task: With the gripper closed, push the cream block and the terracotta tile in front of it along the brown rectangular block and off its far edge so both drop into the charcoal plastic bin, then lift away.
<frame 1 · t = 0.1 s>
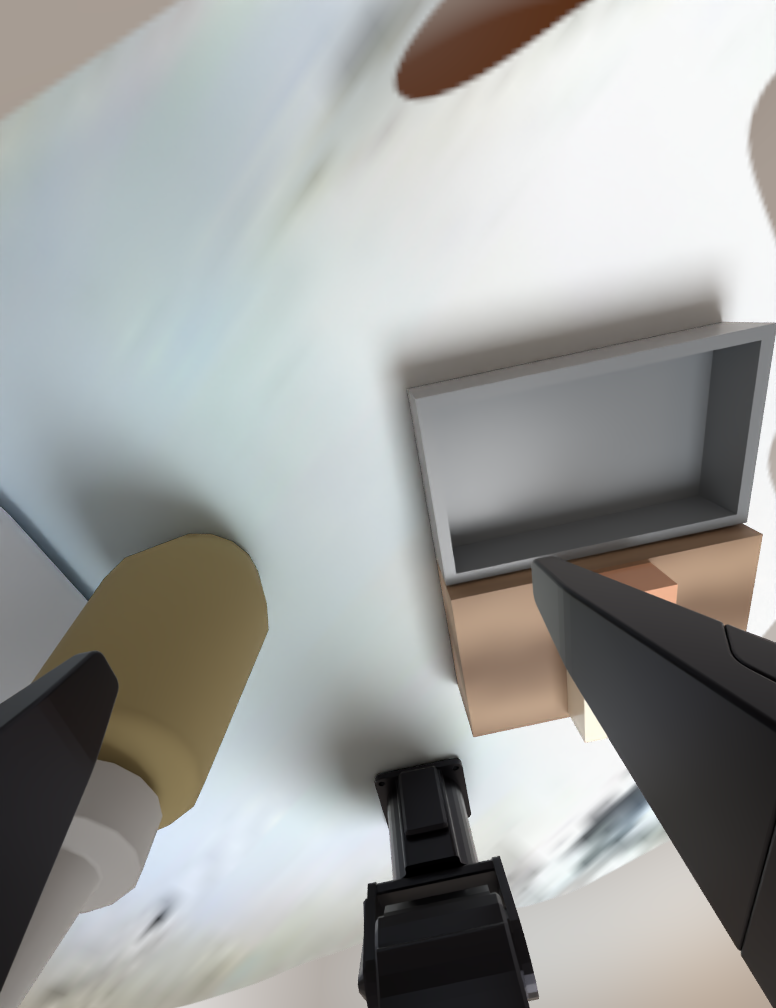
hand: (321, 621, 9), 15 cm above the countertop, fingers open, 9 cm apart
cream block: (605, 676, 25), point 4 cm above the countertop, touching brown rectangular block
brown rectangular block: (572, 600, 28), on the countertop
terracotta tile: (606, 607, 23), point 4 cm above the countertop, touching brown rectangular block
squeeze bottle: (208, 575, 25), on the countertop
charcoal bin: (567, 449, 24), on the countertop
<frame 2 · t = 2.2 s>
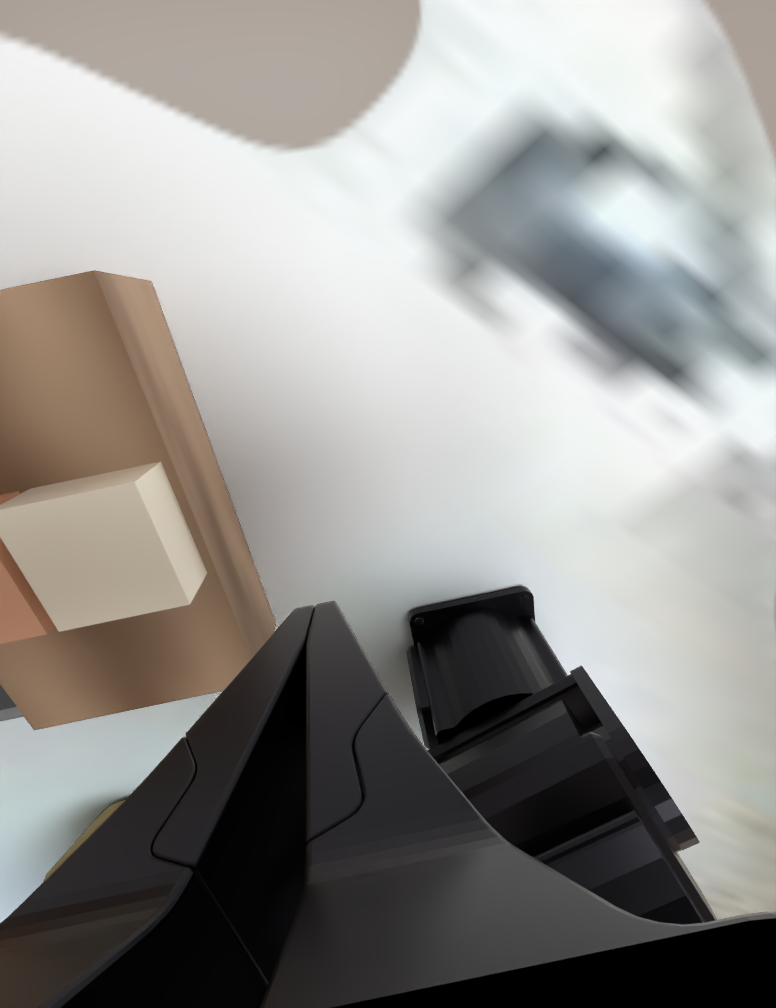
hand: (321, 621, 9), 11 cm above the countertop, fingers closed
cream block: (123, 533, 16), point 4 cm above the countertop, touching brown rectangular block
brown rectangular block: (112, 503, 19), on the countertop
squeeze bottle: (150, 820, 28), on the countertop
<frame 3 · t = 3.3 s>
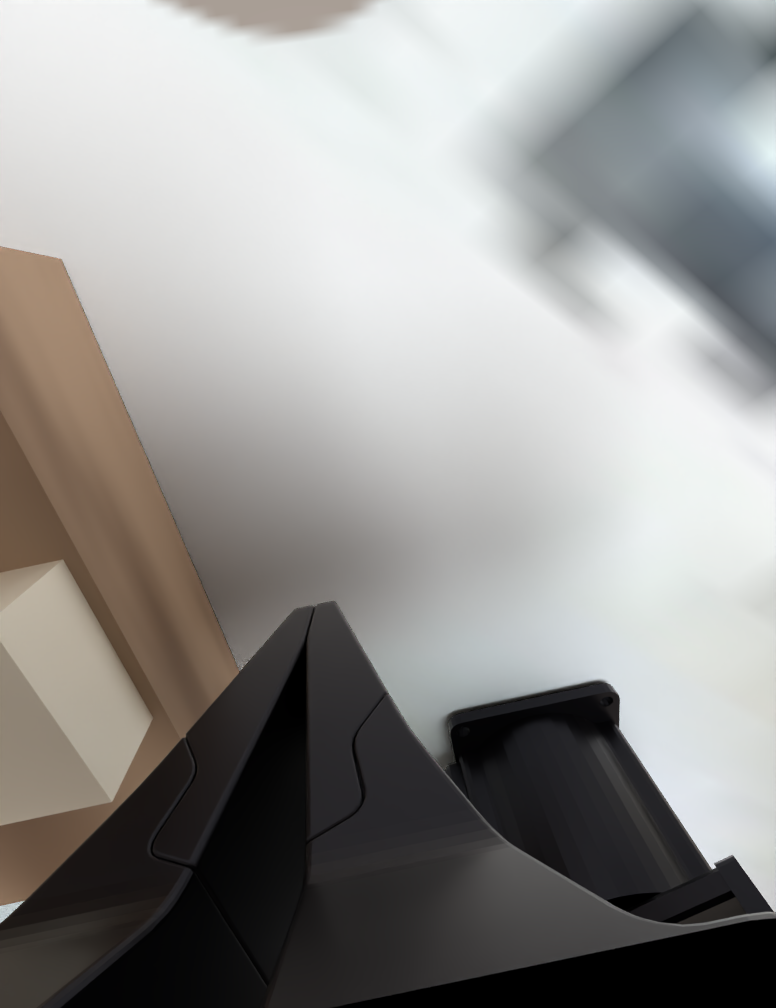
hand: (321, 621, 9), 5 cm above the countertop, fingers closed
cream block: (12, 667, 10), point 4 cm above the countertop, touching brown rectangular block
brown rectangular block: (27, 587, 13), on the countertop
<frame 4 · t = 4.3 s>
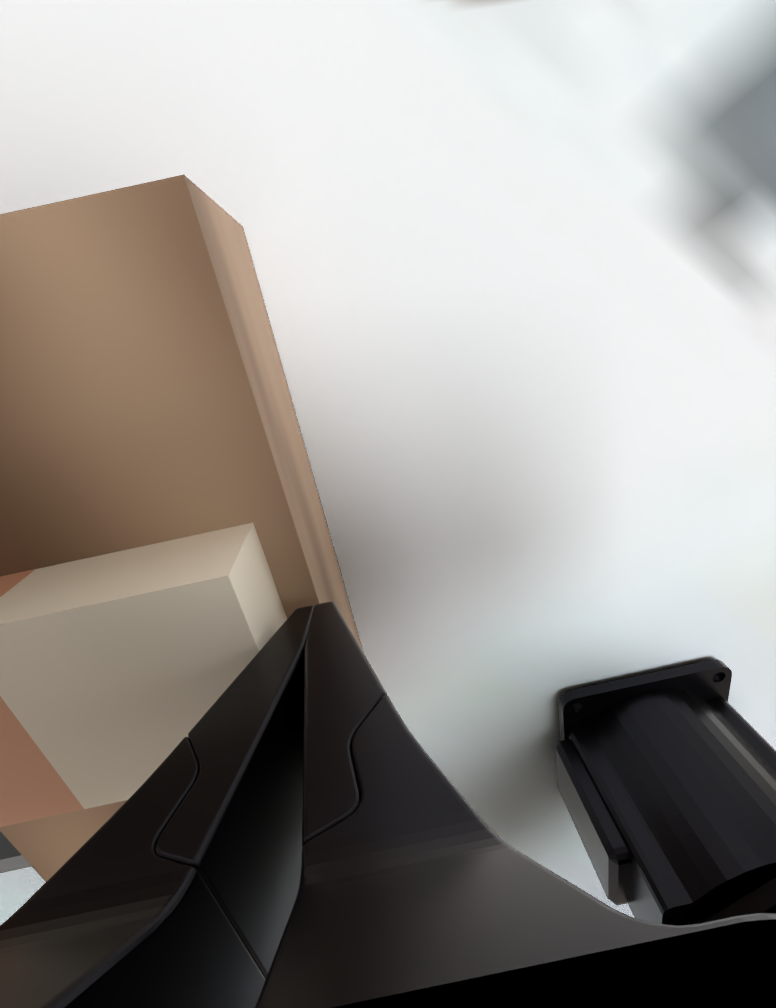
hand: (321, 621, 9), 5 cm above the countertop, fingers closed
cream block: (185, 632, 10), point 4 cm above the countertop, touching gripper
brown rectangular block: (168, 560, 13), on the countertop
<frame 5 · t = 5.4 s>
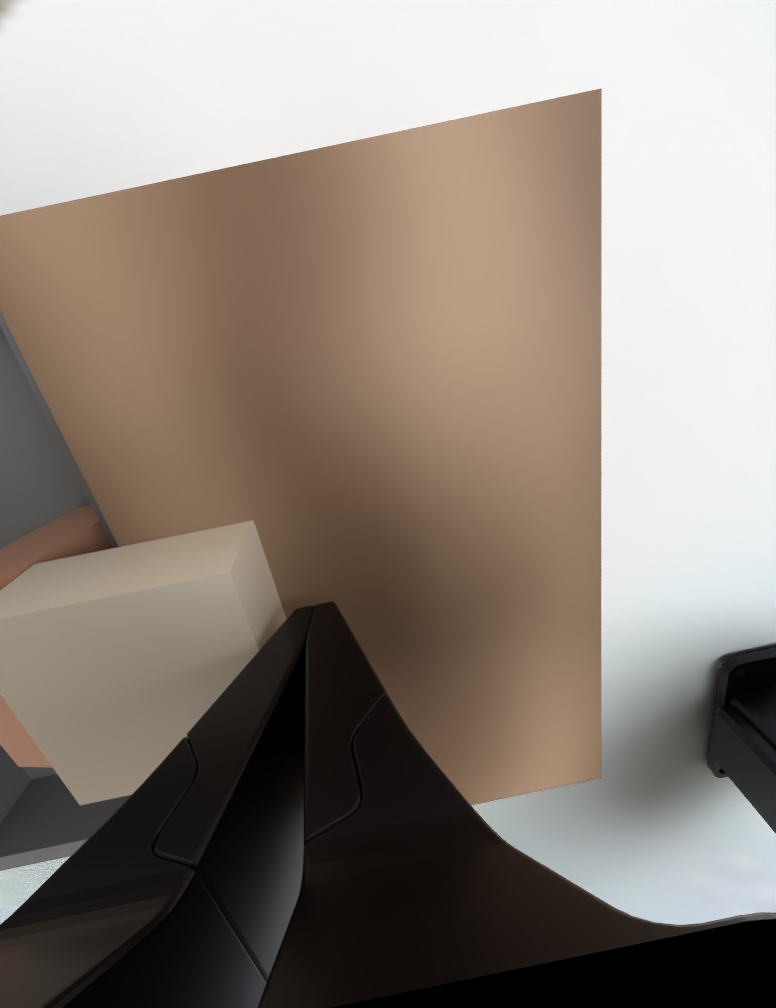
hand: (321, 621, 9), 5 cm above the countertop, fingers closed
cream block: (183, 629, 10), point 4 cm above the countertop, touching gripper, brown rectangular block
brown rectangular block: (373, 516, 13), on the countertop
terracotta tile: (114, 618, 11), point 3 cm above the countertop, tilted 104°, touching charcoal bin
charcoal bin: (52, 584, 13), on the countertop
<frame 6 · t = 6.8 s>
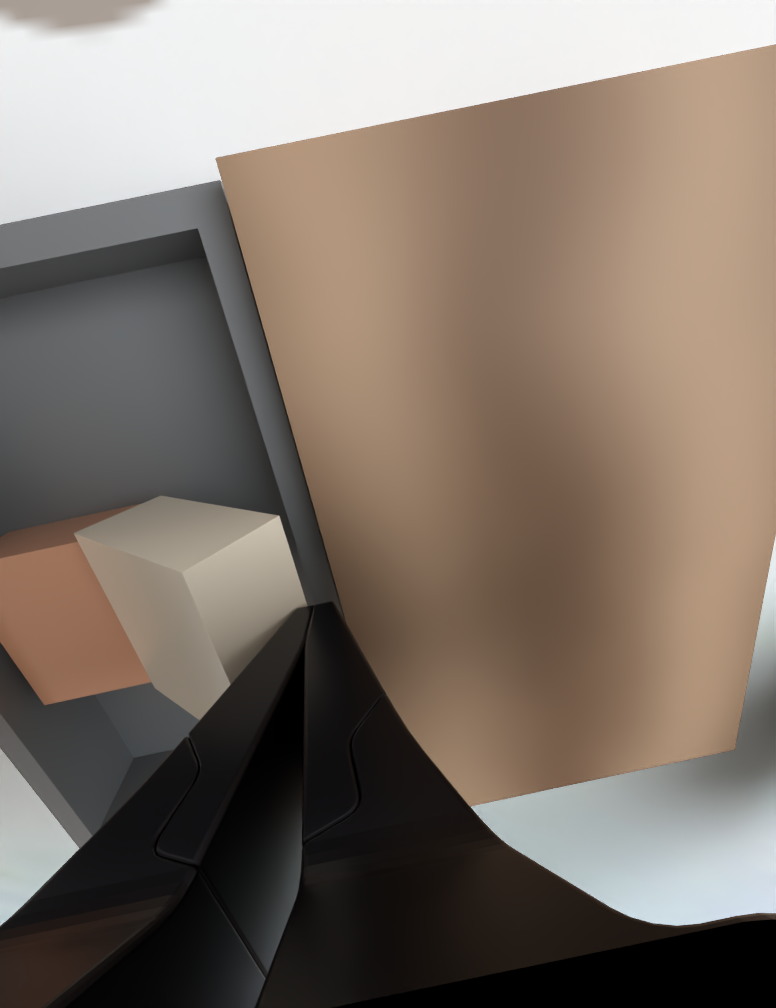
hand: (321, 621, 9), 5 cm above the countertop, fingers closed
cream block: (243, 590, 10), point 3 cm above the countertop, tilted 41°, touching gripper, terracotta tile
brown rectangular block: (502, 487, 13), on the countertop
terracotta tile: (86, 624, 11), point 2 cm above the countertop, tilted 180°, touching charcoal bin, cream block
charcoal bin: (176, 555, 13), on the countertop
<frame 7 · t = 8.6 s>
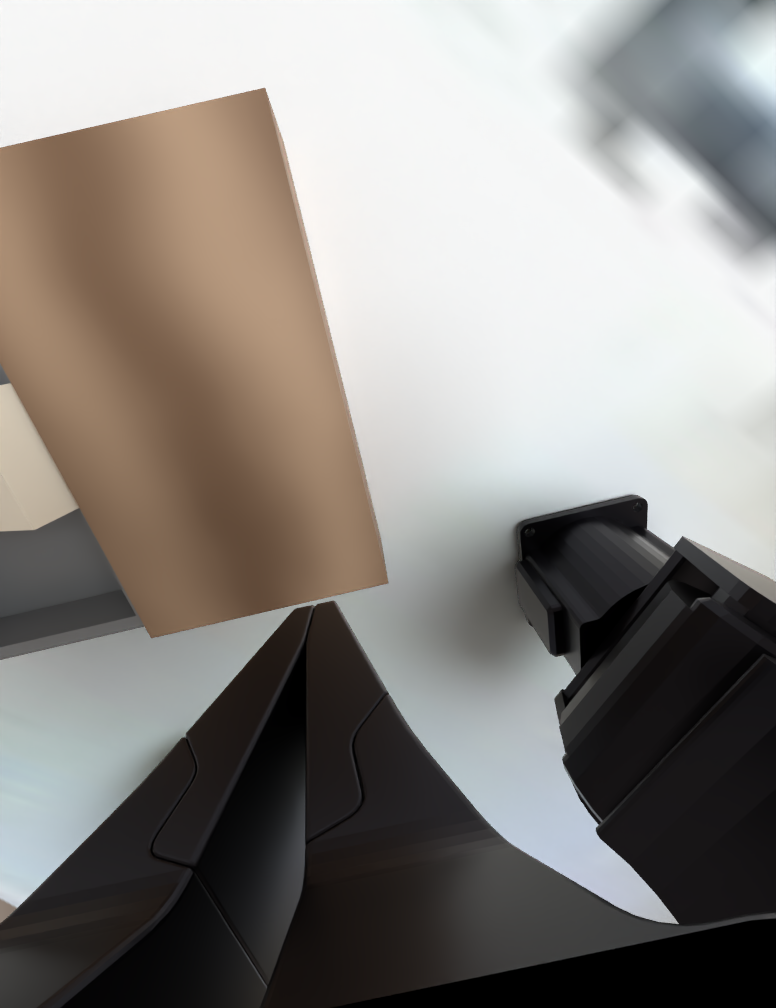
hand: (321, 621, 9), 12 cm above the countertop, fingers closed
cream block: (18, 451, 16), point 2 cm above the countertop, tilted 24°, touching charcoal bin, terracotta tile
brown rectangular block: (224, 401, 18), on the countertop
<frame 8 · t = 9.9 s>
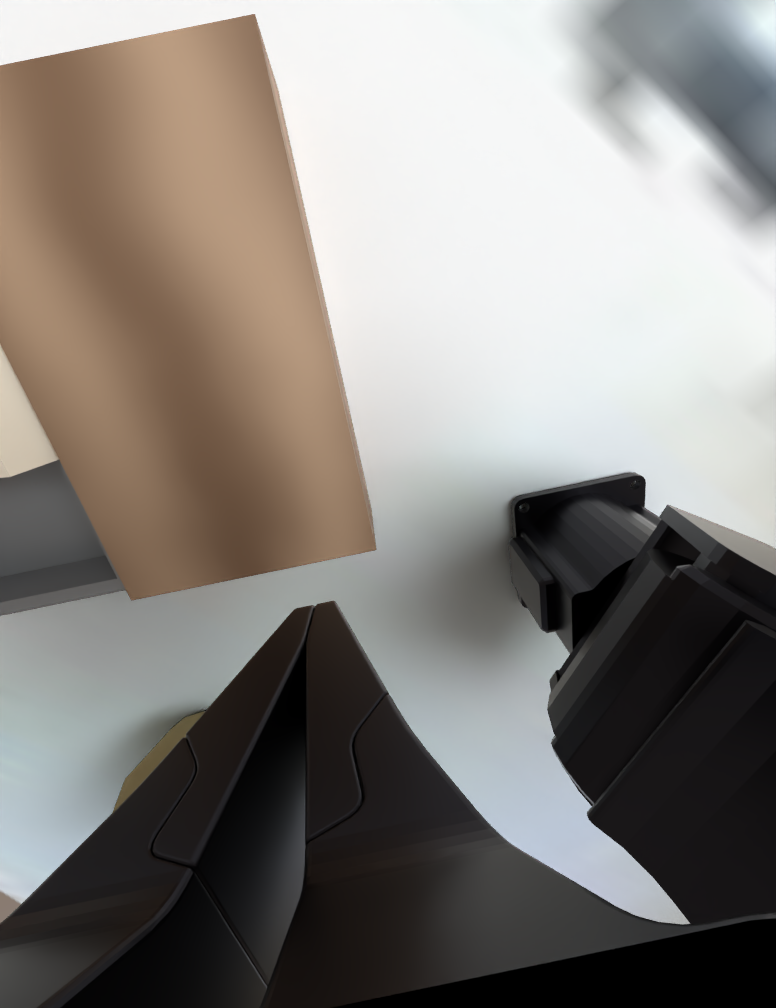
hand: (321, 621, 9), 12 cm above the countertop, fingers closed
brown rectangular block: (213, 360, 18), on the countertop
squeeze bottle: (219, 740, 27), on the countertop
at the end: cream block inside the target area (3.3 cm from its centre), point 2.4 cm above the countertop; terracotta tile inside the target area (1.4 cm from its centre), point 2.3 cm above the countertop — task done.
